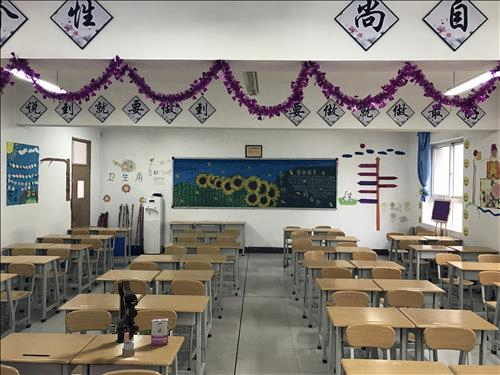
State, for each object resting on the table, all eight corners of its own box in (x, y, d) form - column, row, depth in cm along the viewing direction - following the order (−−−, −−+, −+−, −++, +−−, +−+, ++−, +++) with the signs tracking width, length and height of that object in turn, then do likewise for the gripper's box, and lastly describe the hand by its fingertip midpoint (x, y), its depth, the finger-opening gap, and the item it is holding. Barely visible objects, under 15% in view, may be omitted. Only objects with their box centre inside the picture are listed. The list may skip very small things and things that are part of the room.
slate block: (123, 348, 276) (123, 341, 276) (131, 346, 278) (131, 340, 278) (125, 350, 271) (125, 344, 271) (133, 349, 274) (133, 342, 274)
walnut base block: (122, 354, 276) (122, 348, 276) (131, 352, 279) (131, 346, 279) (125, 357, 271) (125, 351, 271) (134, 355, 274) (134, 349, 274)
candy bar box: (167, 342, 299) (168, 318, 299) (168, 344, 294) (168, 320, 294) (151, 343, 297) (151, 318, 297) (150, 345, 292) (151, 321, 292)
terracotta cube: (124, 339, 276) (124, 332, 276) (131, 338, 278) (131, 331, 278) (126, 342, 272) (126, 334, 272) (133, 340, 274) (133, 333, 274)
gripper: (112, 312, 278) (111, 336, 278) (121, 319, 263) (121, 345, 263) (129, 309, 285) (128, 333, 284) (139, 316, 269) (139, 342, 269)
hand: (129, 338), depth 275 cm, fingers closed on terracotta cube, 4 cm apart
